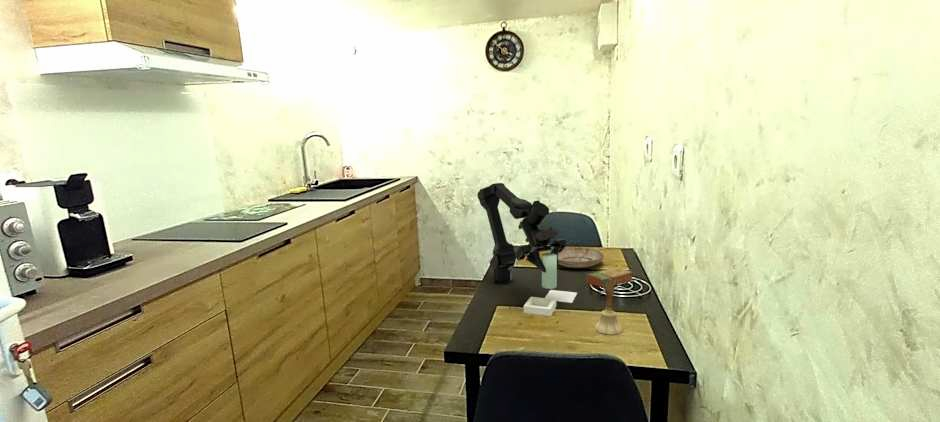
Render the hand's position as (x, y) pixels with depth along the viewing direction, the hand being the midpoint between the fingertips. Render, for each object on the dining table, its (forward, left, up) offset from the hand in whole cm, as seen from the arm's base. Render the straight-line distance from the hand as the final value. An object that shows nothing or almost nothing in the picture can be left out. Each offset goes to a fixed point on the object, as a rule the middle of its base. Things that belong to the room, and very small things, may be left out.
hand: (551, 270), depth 159 cm
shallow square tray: (-3, -4, -13) cm, 14 cm away
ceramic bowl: (-1, +53, -14) cm, 55 cm away
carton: (+15, +33, -14) cm, 39 cm away
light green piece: (-1, +1, -6) cm, 6 cm away
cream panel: (+1, +10, -13) cm, 17 cm away
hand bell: (+20, -11, -14) cm, 26 cm away
